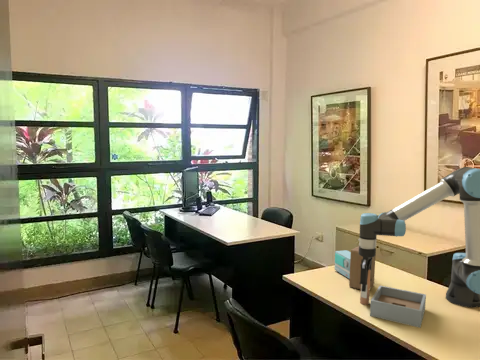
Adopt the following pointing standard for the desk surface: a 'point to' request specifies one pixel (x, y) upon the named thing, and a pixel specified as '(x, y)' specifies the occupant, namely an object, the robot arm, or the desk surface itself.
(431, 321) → the desk surface
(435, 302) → the desk surface
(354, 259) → the wooden block
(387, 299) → the bore box
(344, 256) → the radio
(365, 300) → the peg
